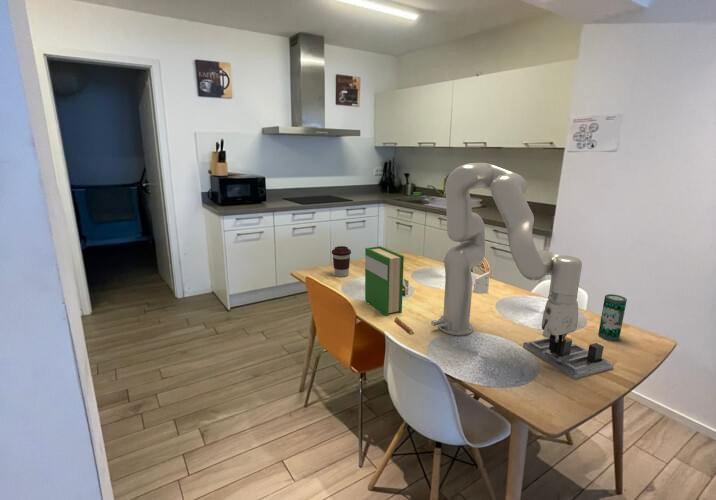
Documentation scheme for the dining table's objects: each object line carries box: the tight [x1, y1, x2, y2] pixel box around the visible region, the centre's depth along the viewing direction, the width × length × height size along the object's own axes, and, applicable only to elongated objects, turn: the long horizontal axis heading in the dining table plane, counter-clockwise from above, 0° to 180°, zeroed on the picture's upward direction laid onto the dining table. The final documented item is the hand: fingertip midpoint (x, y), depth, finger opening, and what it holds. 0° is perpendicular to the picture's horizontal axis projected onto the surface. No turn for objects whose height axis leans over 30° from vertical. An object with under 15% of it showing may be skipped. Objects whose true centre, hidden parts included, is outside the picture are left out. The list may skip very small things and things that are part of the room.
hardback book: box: [364, 245, 405, 317], centre depth 160 cm, size 18×7×24 cm, turn 28°
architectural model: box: [402, 277, 409, 297], centre depth 177 cm, size 3×7×7 cm, turn 32°
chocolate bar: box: [393, 316, 415, 336], centre depth 144 cm, size 3×12×2 cm, turn 23°
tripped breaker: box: [559, 335, 573, 356], centre depth 122 cm, size 3×2×5 cm
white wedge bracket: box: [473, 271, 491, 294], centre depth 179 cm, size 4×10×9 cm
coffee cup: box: [331, 245, 352, 278], centre depth 202 cm, size 10×10×15 cm
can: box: [597, 293, 628, 342], centre depth 135 cm, size 6×6×15 cm
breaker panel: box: [522, 337, 615, 380], centre depth 123 cm, size 16×20×7 cm
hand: (554, 351), depth 121 cm, fingers closed
